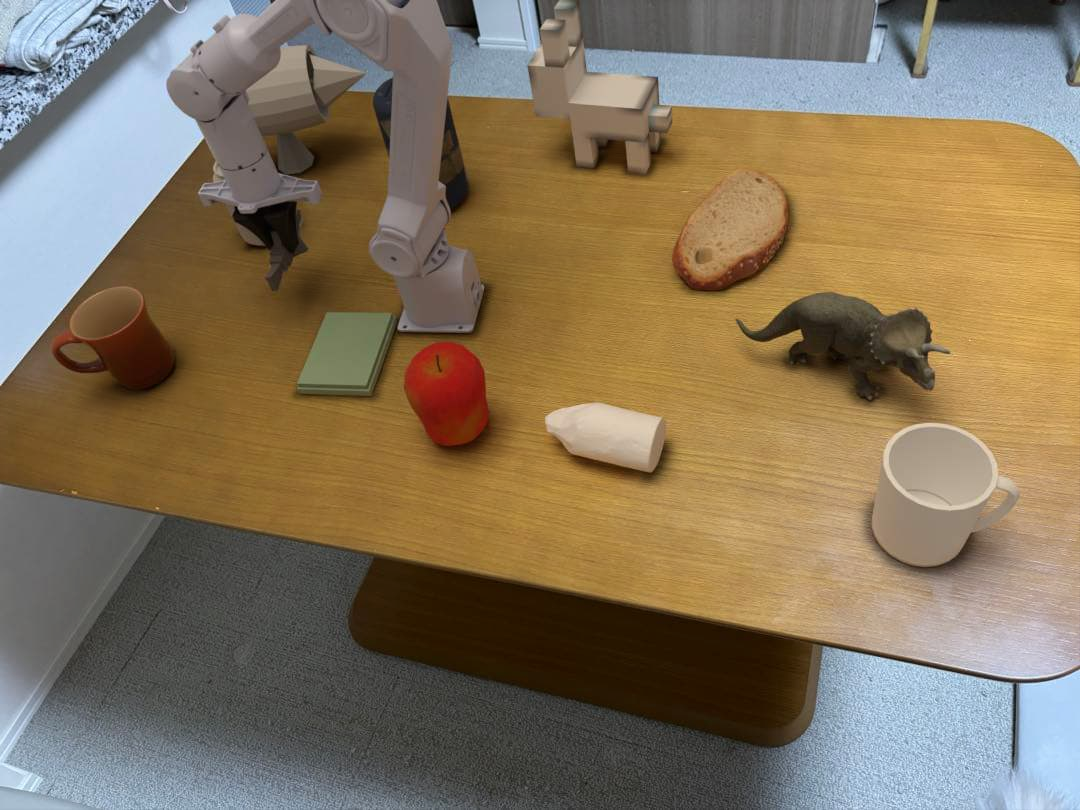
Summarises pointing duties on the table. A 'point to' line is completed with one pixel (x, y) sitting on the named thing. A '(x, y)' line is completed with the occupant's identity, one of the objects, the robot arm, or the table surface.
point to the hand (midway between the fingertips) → (285, 247)
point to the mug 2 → (935, 493)
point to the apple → (448, 392)
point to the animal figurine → (283, 255)
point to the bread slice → (732, 231)
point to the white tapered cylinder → (609, 434)
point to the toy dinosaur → (856, 337)
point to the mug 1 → (118, 339)
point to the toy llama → (594, 95)
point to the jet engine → (297, 101)
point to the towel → (347, 354)
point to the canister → (451, 154)
